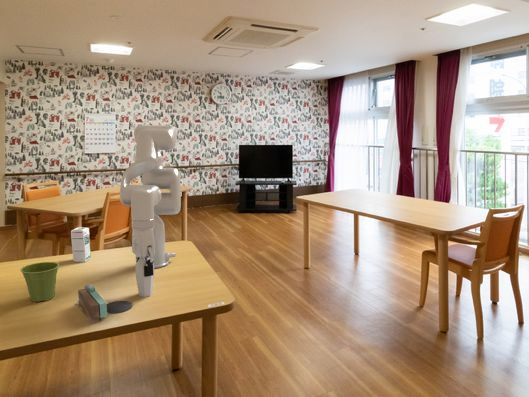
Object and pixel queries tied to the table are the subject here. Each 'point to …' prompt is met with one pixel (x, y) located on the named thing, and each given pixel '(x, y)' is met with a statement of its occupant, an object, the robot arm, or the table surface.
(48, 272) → the plant pot
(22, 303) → the table surface
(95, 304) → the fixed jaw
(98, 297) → the bar
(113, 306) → the dark grey disc
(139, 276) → the white bottle
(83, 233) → the syrup box
